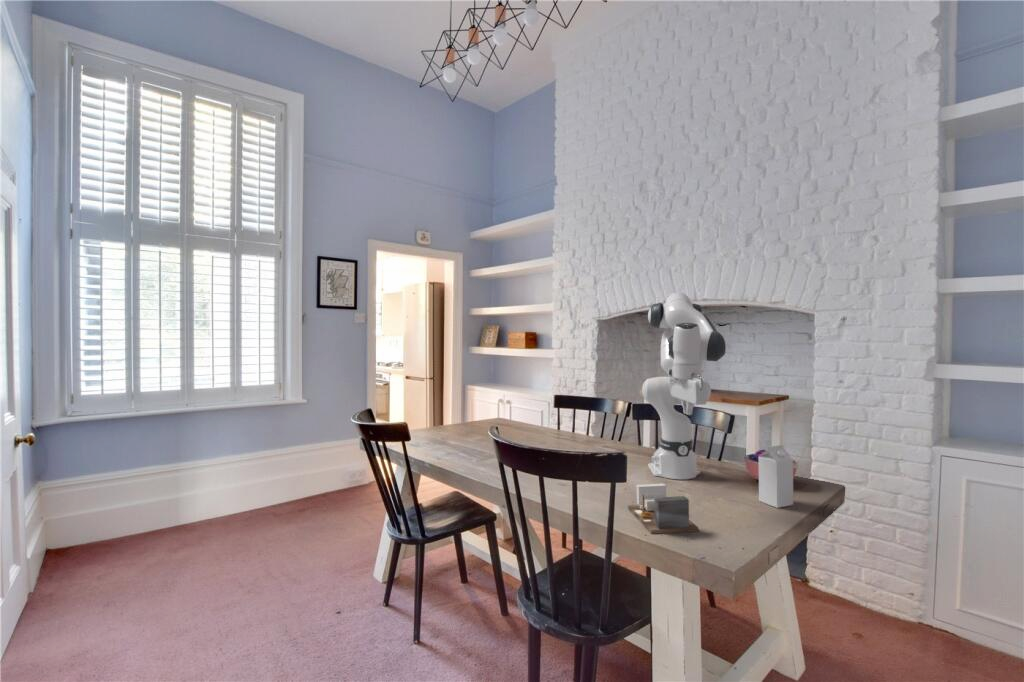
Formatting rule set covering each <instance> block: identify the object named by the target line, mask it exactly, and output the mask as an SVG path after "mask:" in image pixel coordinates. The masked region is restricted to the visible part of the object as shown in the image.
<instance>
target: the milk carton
mask: <svg viewBox="0 0 1024 682" xmlns="http://www.w3.org/2000/svg"><path fill="white" fill-rule="evenodd" d="M793 460H794V459H793V458H792V456H791V455H790V454H789V453H788V451H787V450H786V449H785V447H784V444H778V445H770V446H766V451H765V452H764V453H763V454H761V455H760V456H759V480H758V501H759V502H761V503H763V504H765V505H769V506H772V507H774V508H776V509H779V508H783V507H784V508H785V507H788V506H793V505H794V478H793Z"/></svg>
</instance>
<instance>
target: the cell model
mask: <svg viewBox="0 0 1024 682" xmlns="http://www.w3.org/2000/svg"><path fill="white" fill-rule="evenodd" d="M765 451H767V449H760V450H757V451H756V452H755V453H751V454H746V455H743V457H741V458H742V461H743V463H744V467H745V469H746V471H747V473H748V474H749V475H750V476H751V477H752V478H753V479H755V480H756V481H759V456H760V455H761V454H763V453H764V452H765ZM798 467H799V463H798V462H797V461H796V460H794V459H793V479H794V478H795V476H796V474H797V470H798Z"/></svg>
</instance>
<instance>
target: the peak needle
mask: <svg viewBox="0 0 1024 682" xmlns="http://www.w3.org/2000/svg"><path fill="white" fill-rule="evenodd" d="M642 509H643V512H641V516H642V517H646V516H651V512H644V495H642Z"/></svg>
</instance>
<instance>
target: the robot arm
mask: <svg viewBox="0 0 1024 682" xmlns="http://www.w3.org/2000/svg"><path fill="white" fill-rule="evenodd" d="M647 320H648V323H649V324H650V326H651V327H652V328H656V329H665V330H664V331H663V333H662V335H661V340H660V366H661V369H662V371H664V372H665V373H666V374H667V375H668V376H655V377H649V378H647V379H645V381H644V382H643V384H642V386H641V387H642V388H641V393H642V396H643V398H644V400H645V401H646V402H647V403H649V404H650V405H651V406H652V407H653V408H654V409H655V411H656V412H657V414H658V415H659V418H660V425H661V438H660V442H659V448H658V449H657V450H656V451H655V452H654V453H653V455H651V462H650V463H648V464H647V466H648V468H649V470H650V471H651V473H652V475H653V476H655V477H661V478H665V479H671V480H691V479H695V478H696V477H697V476H699V475H701V470H699V469H698V464H697V455H696V452H694V451H693V449H694V448H693V447H694V446H693V445H694V442H693V439H692V422H691V419H690V418H689V417H688V416H692V415H693V412H694V411H693V410H694V406H695V405H697V406H700V405H701V406H702V405H707V403H708V401H709V399H710V397H711V395H712V388H711V385H710V383H709V382H708V380H707V379H705V378H703V376H702V374H703V373H702V372H703V371H702V370H703V368H702V367H703V365H702V363H703V362H702V361H708V362H718V361H719V360H721V359H722V358H723V357H724V356H725V354H726V350H727V347H726V346H727V345H726V341H725V337H724V335H722V334H721V333H720V332H719V331H718V330H717V329H716V327H715V325H714V324H713V323H712V321H711V320H710V318H709V317H708V316H707V314H706V313H704V310H703V308H702V306H701V305H700V304H699V303H698V304H697V303H693V302H692V300H691V299H690V297H689V296H688V295H687V294H685V293H684V292H681V291H680V292H679V291H677V292H673V293H670V294H669V296H667V298H666V299H665V302H657V303H654V304H652V305H651V306H650V308H649V310H648V313H647ZM675 405H681V406H682V408H683V410H682V411H683V413H681V412H679V411H677V410H676V409H675ZM687 415H688V416H687Z"/></svg>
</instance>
